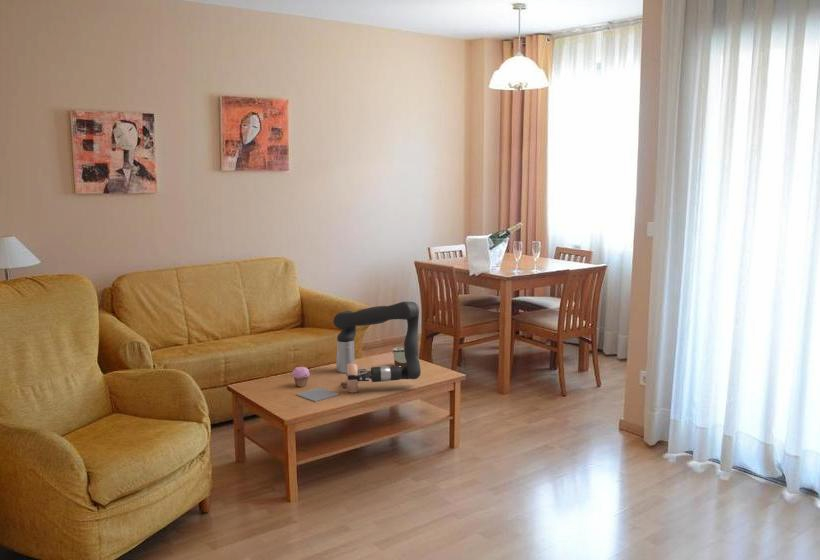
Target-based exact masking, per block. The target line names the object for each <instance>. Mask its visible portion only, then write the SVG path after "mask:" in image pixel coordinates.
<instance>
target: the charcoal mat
mask: <svg viewBox="0 0 820 560" xmlns="http://www.w3.org/2000/svg"><path fill="white" fill-rule="evenodd" d="M336 395H338V396H340V393H337V392H335V391H331V390H328V389H327V388H326V389H325V388H322V387H316V388H313V389H309V390H306V391H302V392H299V393H296V394H295V396H297V397H299V396H300V398H302V397H303V398H302V399H305V398H306V399H305V400H308V399H309V400H308V401H311V400H312V401H311V402H313V401H315V402H314V403H317V402H316V401H318V402H321V401H324V400H327V398H328V399H330V397H331V398H334V397H337V396H336ZM333 396H334V397H333ZM323 399H324V400H323ZM320 400H321V401H320Z"/></svg>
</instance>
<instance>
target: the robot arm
mask: <svg viewBox="0 0 820 560" xmlns="http://www.w3.org/2000/svg"><path fill="white" fill-rule="evenodd" d="M419 318H420V307H419V305H418V303H416V302H414V301H401V302H400V301H399V302H398V303H394V304H391V305H379V306H377V305H376V306H372V307H366V308H363V309H360V310H356V311H352V310H344V311H341V312H338V313H337V314H335V316H334V317H333V321H332V322H333V325H334V326H335V327H336V328H337V329H339V330H340V332H339V333H338V334H337V337H336V340H337V341H336V342H337V343H336V344H337V346H336V347H337V348H336V349H337V353H336V355H335V356H336V357H335V358H336V359H335V360H336V362H335V363H336V371H337V372H338V373H342V374H346V375H345V376H346V377H347V364H348V363H355V336H356V333H357V332H356V331H357V326H358V327H359V326H371V325H378V324H384V323H386V322H387V321H390V320H406V323H407V330H406V334H405V338H404V342H403V347H404V353H405V359H406V362H407V366H401V367H399V366H395V365H393V366H384V365H383V366H371V368H370V370H367V369H366V368H363V369H360V368H359V369H358V375H356V376H355V375H348V380H355V379H356V380H357V381H358V382H369V381H370V380H371V382H372V383H379V382H381V383H383V382H390V381H400V380H416V379H419V378H420V376H421V374H422V373H421V363H420V359H419V346H418V336H419V335H418V334H419V333H418V332H419V320H420V319H419Z"/></svg>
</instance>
